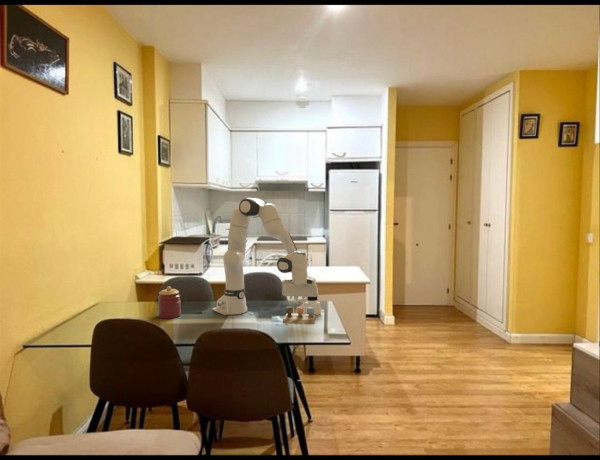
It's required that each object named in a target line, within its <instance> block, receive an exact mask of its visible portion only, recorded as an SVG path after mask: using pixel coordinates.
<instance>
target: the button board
mask: <svg viewBox="0 0 600 460" xmlns="http://www.w3.org/2000/svg"><path fill="white" fill-rule="evenodd" d="M316 319H317V315H316V314H312V317H309V314H304V313H303V314H302V317H298V314H297V313H295V312H293V313H291V316H290V317H289V316H288V313H286V314H285V315H284V316H283V319H282V322H283V323H286V324H287V323H289V324H315V321H316Z"/></svg>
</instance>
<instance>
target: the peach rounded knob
mask: <svg viewBox="0 0 600 460" xmlns="http://www.w3.org/2000/svg"><path fill="white" fill-rule="evenodd" d="M295 309H296V310H295V311H296V313H297V314H298V317H302V314H304V306H297V307H296V308H295Z"/></svg>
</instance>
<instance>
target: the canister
mask: <svg viewBox="0 0 600 460" xmlns="http://www.w3.org/2000/svg"><path fill="white" fill-rule="evenodd" d="M179 292H180V291H179V290H178V289H176V288H172V286H169V285H168V286H167V287H166V288H164V289H162V290H160V291H159V292H158V294H159V295H158V296H157V299H158V301H157V304H158V305H157V306H158V307H157V310H158V313H157V315H158V317H159V318H160V319H164V320H165V319H167V320H168V319H175V318H179V317H180V316H181V315H182V309H181V308H182V306H181V305H182V304H181V298H180V297H181V294H180V293H179Z"/></svg>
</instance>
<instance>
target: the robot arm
mask: <svg viewBox="0 0 600 460" xmlns="http://www.w3.org/2000/svg"><path fill="white" fill-rule="evenodd" d="M252 218H253V219H255V218H260V219H261V222H262V225H263V228H264V231H265V233H266V235H268V236H269V237H270V238H274V239H276V240H279V242H281V243H282V245H283V247H284V249H285V251H286V253H287V255H284V256H281V257H279V258H278V259H277V262H276V268H277V270H278V271H279V272H280V273H282V274H289V273H291V279H284V280H282V281H281V286H282V289H281V295H282V296H283V297H295V300H296V301H297V305H304V300H305V298H307V297H317V298H318V295H319V289H318V285H317V283H316V278H315V277H311V276H309V275H308V257H307V252H305V251H302V250H298V248H297V247H296V244H295V242H294V240H293V237H292V235H291V233H290V232H289V231H288V230H287V228H286V227H285V224H284V222H283V221H282V217H281V215H280V212H279V210H278V209H277V206H275V204H273V203H267V202H266V201H265V200H263V199H260V198H257V197H253V198H252V197H246V198H242V200H241V201H240V202H239V204H238V207H236V208H234V210H233V211H232V214H231V217H230V222H229V228H228V233H227V234H228V235H227V236H228V237H227V250H226V252H225V253H224V254H223V266H224V267H223V269H224V274H225V288H224V289H223V292H224V293H223V295H222V296H221V297H219V298H218V299H217V301H216V306H215V307H213V308H212V311H214V312H216V313H218V314H221V315H223V316H224V315H225V316H228V315H241V314H244V313H246V312H248V306H247V299H246V295H245V294H246V289H245V288H246V287H245V274H244V268H243V267H244V266H243V262H244V261H245V258H246V257H245V256H246V248H247V238H248V231H249V224H250V220H251V219H252ZM299 297H301V298H302V299H301V300H299Z"/></svg>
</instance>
